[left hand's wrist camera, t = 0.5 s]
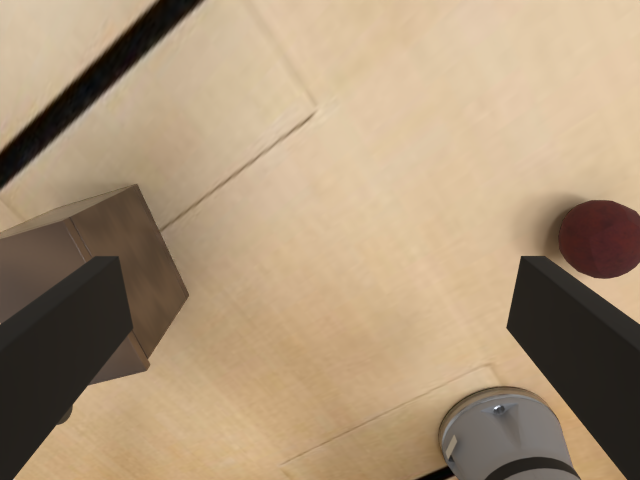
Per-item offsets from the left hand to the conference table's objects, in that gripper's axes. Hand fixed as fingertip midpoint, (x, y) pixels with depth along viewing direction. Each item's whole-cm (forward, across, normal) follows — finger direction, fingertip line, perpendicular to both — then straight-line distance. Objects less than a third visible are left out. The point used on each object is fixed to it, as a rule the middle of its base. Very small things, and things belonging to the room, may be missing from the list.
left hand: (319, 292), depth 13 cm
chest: (+28, -22, -10) cm, 36 cm away
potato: (+28, +28, -7) cm, 40 cm away
